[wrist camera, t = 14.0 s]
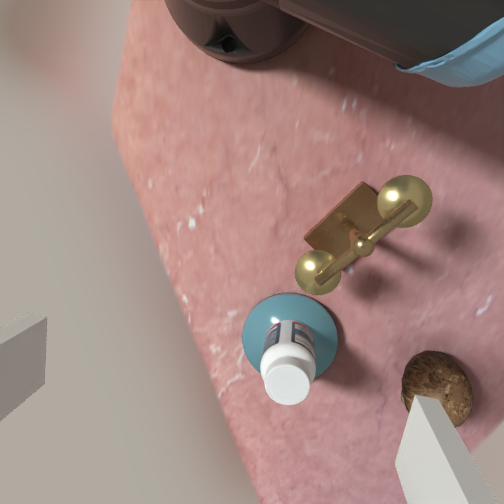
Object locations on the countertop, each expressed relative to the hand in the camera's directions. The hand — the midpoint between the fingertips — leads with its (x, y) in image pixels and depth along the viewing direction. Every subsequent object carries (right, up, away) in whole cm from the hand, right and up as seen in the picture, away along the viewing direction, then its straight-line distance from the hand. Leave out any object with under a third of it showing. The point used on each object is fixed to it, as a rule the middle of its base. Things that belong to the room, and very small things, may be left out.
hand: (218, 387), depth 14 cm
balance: (+11, +8, +27) cm, 30 cm away
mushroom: (+20, -9, +29) cm, 37 cm away
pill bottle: (+5, -5, +29) cm, 30 cm away
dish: (+5, -5, +30) cm, 31 cm away
